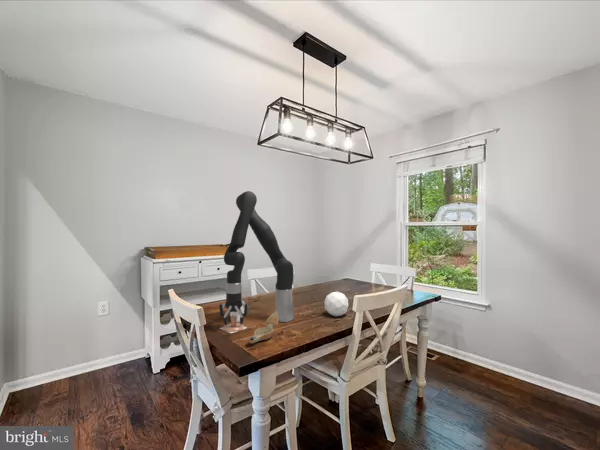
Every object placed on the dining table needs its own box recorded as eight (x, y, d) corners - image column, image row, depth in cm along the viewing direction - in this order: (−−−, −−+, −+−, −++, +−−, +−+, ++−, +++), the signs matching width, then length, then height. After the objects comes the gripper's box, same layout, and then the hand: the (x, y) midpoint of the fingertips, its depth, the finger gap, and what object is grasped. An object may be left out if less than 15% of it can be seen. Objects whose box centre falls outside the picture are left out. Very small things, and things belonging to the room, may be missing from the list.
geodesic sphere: (332, 299, 176) (327, 283, 168) (354, 302, 168) (349, 286, 161) (324, 318, 165) (317, 303, 158) (347, 323, 158) (341, 307, 151)
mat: (247, 328, 140) (247, 327, 140) (231, 334, 132) (231, 333, 132) (235, 323, 146) (235, 323, 146) (219, 329, 139) (219, 328, 139)
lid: (247, 327, 140) (247, 316, 140) (231, 333, 132) (231, 321, 132) (235, 323, 146) (235, 312, 146) (219, 328, 139) (219, 316, 139)
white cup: (238, 317, 158) (238, 299, 158) (247, 320, 153) (247, 301, 153) (226, 320, 151) (226, 302, 152) (235, 323, 146) (235, 304, 146)
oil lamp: (283, 332, 135) (283, 312, 136) (257, 349, 117) (257, 325, 117) (268, 329, 139) (268, 309, 140) (241, 345, 121) (241, 322, 121)
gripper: (249, 289, 144) (248, 321, 144) (220, 289, 143) (220, 322, 142) (247, 292, 136) (247, 326, 136) (217, 293, 135) (217, 327, 135)
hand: (233, 324), depth 139 cm, fingers open, 6 cm apart
